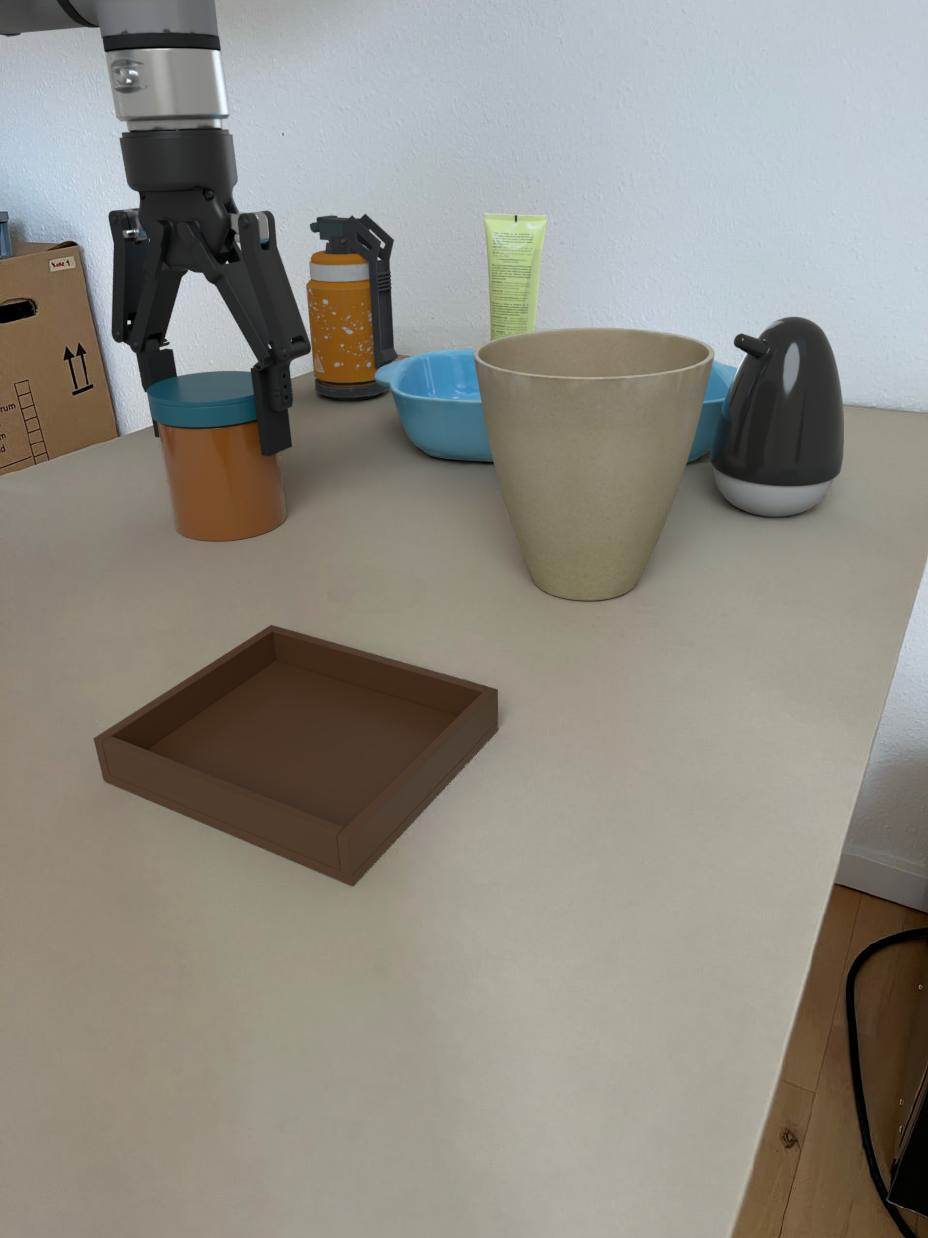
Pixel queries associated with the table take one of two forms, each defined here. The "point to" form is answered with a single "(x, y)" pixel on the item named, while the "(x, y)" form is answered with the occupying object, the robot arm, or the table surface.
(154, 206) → the robot arm
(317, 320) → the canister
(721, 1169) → the table surface
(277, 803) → the tray
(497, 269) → the tube
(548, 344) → the plant pot
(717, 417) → the casserole dish
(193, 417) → the lid
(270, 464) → the jam jar
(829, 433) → the pump dispenser
